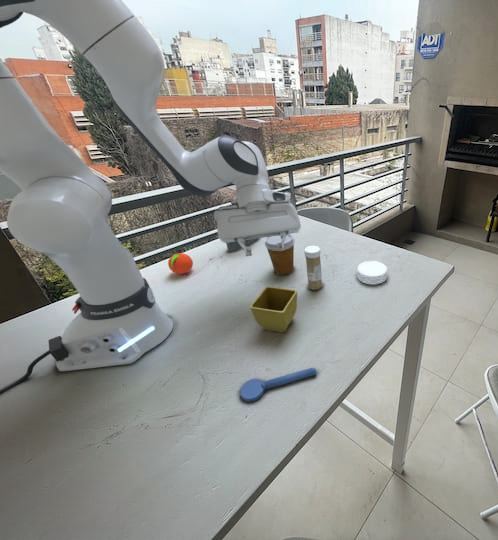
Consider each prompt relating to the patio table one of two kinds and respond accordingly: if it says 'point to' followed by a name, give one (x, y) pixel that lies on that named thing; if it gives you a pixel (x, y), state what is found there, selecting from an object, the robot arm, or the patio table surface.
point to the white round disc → (372, 272)
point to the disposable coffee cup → (281, 253)
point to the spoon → (270, 384)
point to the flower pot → (275, 308)
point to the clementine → (180, 263)
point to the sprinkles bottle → (313, 267)
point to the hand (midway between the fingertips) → (265, 252)
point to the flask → (235, 245)
